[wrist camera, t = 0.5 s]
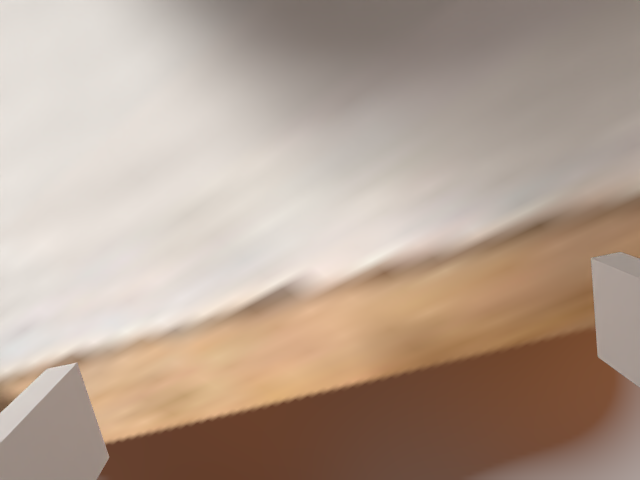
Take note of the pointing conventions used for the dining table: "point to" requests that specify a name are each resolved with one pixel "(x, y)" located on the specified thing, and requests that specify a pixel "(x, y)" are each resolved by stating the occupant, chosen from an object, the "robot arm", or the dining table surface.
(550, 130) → the dining table surface
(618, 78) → the dining table surface
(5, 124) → the dining table surface
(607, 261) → the robot arm
